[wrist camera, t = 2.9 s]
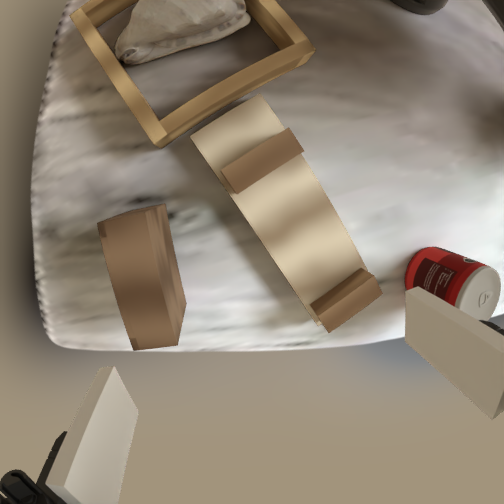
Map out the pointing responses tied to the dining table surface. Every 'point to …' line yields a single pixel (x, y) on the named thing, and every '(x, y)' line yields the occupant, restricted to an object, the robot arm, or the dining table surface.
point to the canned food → (455, 281)
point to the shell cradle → (215, 98)
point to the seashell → (177, 27)
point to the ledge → (288, 210)
